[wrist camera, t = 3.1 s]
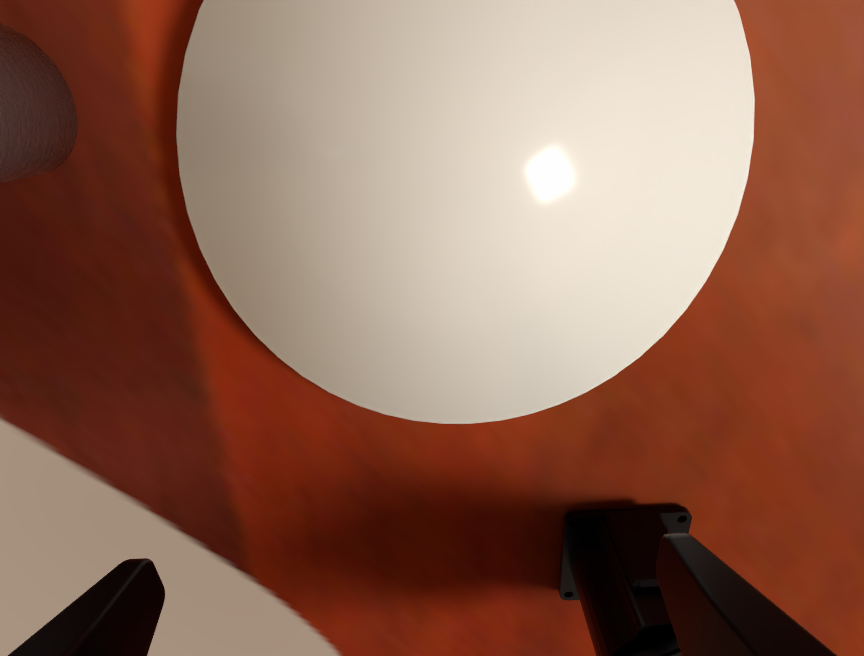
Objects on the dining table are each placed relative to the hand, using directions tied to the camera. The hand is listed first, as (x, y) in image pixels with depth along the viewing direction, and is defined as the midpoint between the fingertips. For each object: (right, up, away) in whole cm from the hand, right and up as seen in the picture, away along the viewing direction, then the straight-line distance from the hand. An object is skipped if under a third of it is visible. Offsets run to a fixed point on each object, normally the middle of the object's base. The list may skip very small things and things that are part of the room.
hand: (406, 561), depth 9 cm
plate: (+2, +9, +10) cm, 14 cm away
